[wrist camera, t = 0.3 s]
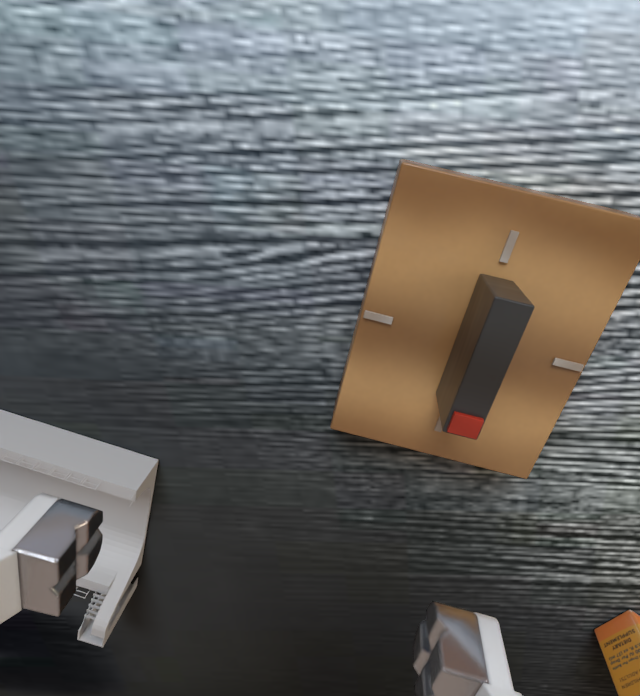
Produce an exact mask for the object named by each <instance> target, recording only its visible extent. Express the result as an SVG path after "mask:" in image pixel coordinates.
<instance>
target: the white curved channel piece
mask: <svg viewBox="0 0 640 696" xmlns="http://www.w3.org/2000/svg"><path fill="white" fill-rule="evenodd" d="M158 461H159V460H158V459H155V458H152V457H149V456H145V455H142V454H139V453H136V452H133V451H130V450H127V449H123V448H120V447H117V446H114V445H111V444H108V443H104V442H101V441H98V440H95V439H92V438H89V437H86V436H82V435H79V434H76V433H73V432H70V431H67V430H64V429H60V428H57V427H54V426H51V425H48V424H45V423H41V422H38V421H35V420H32V419H29V418H26V417H23V416H19V415H16V414H13V413H10V412H7V411H4V410H0V531H1V530H2V529H3V528H4V527H5V526H6V525H7V524H8V523H9V522H10V521H11V520H12V519H13V518H14V517H15V516H16V515H17V514H18V513H19V512H20V511H21V510H22V509H23V508H24V507H25V506H26V505H27V504H28V503H29V502H30V501H31V500H32V499H33V498H34V497H35V496H37V495H39V494H41V493H45V494H48V495H52V496H55V497H58V498H62V499H65V500H69V501H72V502H75V503H79V504H82V505H85V506H88V507H92V508H95V509H98V510H101V511H103V522H102V523H101V525H100V526H99V530H100V531H101V533H102V534H103V540H102V546H101V550H100V553H99V555H98V557H97V559H96V561H95V564H94V565H93V567H92V568H91V570H90V571H89V573H88V574H87V575H85V576H84V577H82V578H80V579H78V580H76V586H80V587H83V588H87V589H90V590H93V591H96V592H95V594H93V596H94V597H93V598H92V599H91V601H92V602H91V603H90V604H89V608H88V609H87V613H86V614H85V615H84V617H85V618H84V620H83V623H82V625H81V627H80V629H79V630H78V640H81V641H84V642H87V643H90V644H94V645H97V646H100V647H102V648H103V646H104V644H105V643H106V641H107V639H108V637H109V635H110V634H111V632H112V630H113V628H114V626H115V625H116V623H117V621H118V619H119V618H120V616H121V614H122V612H123V610H124V609H125V607H126V605H127V603H128V601H129V600H130V598H131V596H132V594H133V592H134V591H135V589H136V587H137V583H138V577H137V579H136V581H135V582H134V584H131V581H132V579H133V578H134V576H135V574H136V572H137V571H138V569H139V567H140V565H141V563H142V557H143V551H144V545H145V539H146V533H147V527H148V521H149V514H150V509H151V503H152V497H153V491H154V485H155V479H156V473H157V467H158ZM76 589H77V588H76ZM90 590H89V591H90ZM76 591H78V590H76ZM79 592H81V591H79ZM97 592H99V593H101V595H97ZM83 593H85V592H83ZM88 593H89V592H88ZM88 593H86V594H88ZM74 595H75V594H74ZM76 596H78V595H76ZM86 596H87V595H86ZM86 596H85V597H86ZM79 597H81V596H79ZM95 597H98V600H96V599H95ZM82 598H84V597H82ZM93 602H96V603H95V605H92V604H93ZM91 607H92V609H91V610H90V608H91ZM88 613H89V614H88Z"/></svg>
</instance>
